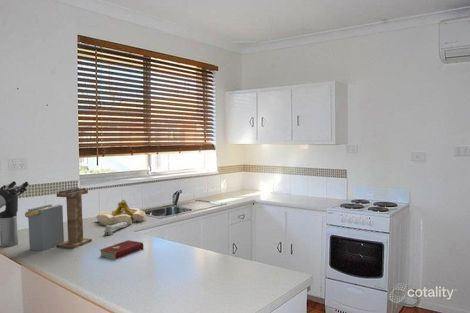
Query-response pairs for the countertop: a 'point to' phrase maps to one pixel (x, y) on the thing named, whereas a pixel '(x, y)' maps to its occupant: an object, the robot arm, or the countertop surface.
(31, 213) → the brass rod
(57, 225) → the grey cradle
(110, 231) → the toothbrush head
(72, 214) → the walnut stand
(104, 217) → the campfire
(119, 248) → the hardcover book
